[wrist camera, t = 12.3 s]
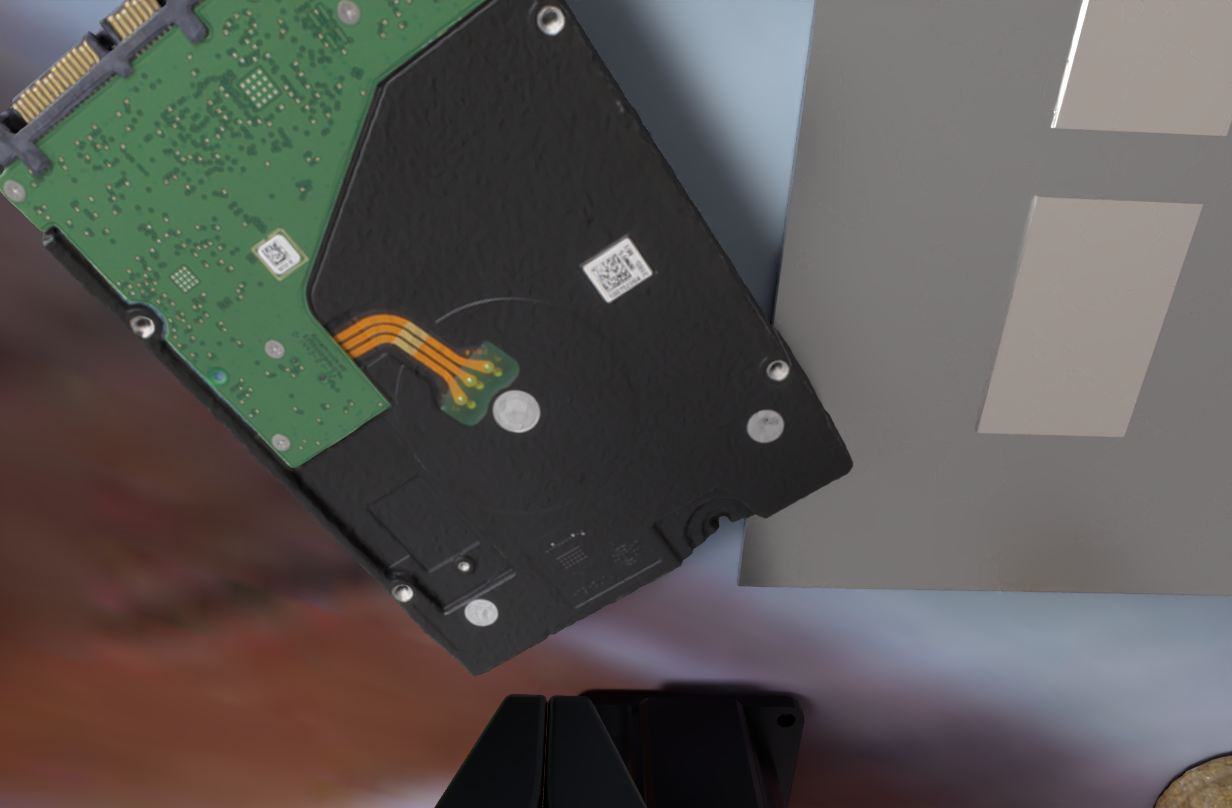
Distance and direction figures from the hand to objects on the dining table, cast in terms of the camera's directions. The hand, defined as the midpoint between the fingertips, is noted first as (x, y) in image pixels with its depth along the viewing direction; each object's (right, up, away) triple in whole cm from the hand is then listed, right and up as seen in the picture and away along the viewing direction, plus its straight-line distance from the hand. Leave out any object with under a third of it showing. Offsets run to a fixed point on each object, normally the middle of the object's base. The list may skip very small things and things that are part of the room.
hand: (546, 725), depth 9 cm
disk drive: (-3, +6, +10) cm, 12 cm away
